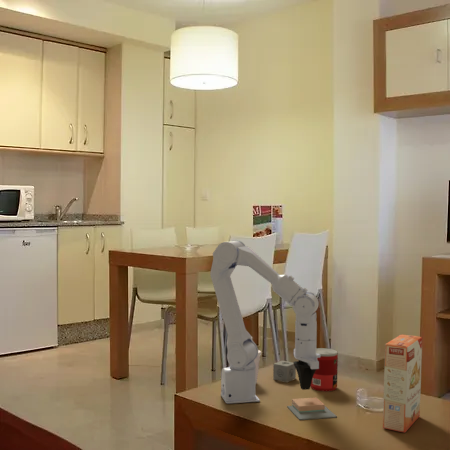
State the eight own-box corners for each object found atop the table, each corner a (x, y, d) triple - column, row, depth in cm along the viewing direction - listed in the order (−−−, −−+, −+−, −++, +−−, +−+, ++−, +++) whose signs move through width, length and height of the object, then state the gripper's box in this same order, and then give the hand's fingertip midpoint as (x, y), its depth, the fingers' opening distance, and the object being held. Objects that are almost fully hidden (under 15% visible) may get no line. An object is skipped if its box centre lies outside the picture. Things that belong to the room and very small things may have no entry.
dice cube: (295, 378, 187) (295, 363, 187) (287, 382, 183) (287, 366, 183) (282, 376, 190) (282, 360, 190) (273, 379, 186) (273, 363, 186)
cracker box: (407, 434, 142) (408, 346, 141) (381, 429, 145) (383, 343, 144) (421, 416, 154) (423, 335, 153) (398, 412, 157) (399, 333, 156)
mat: (299, 420, 151) (299, 419, 151) (287, 407, 160) (287, 406, 160) (336, 417, 153) (336, 416, 153) (322, 404, 163) (322, 403, 163)
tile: (291, 404, 161) (299, 412, 155) (291, 399, 161) (299, 406, 155) (316, 403, 163) (324, 410, 157) (316, 397, 163) (324, 404, 157)
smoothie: (263, 380, 184) (263, 335, 184) (257, 386, 178) (258, 340, 178) (243, 378, 186) (244, 334, 186) (237, 384, 180) (237, 338, 180)
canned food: (339, 392, 174) (339, 354, 174) (311, 391, 174) (312, 354, 174) (335, 384, 182) (335, 348, 181) (308, 383, 182) (308, 347, 181)
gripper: (330, 344, 155) (329, 396, 155) (310, 332, 169) (309, 380, 169) (304, 345, 153) (303, 397, 153) (286, 333, 167) (286, 381, 168)
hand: (305, 388), depth 161 cm, fingers closed
